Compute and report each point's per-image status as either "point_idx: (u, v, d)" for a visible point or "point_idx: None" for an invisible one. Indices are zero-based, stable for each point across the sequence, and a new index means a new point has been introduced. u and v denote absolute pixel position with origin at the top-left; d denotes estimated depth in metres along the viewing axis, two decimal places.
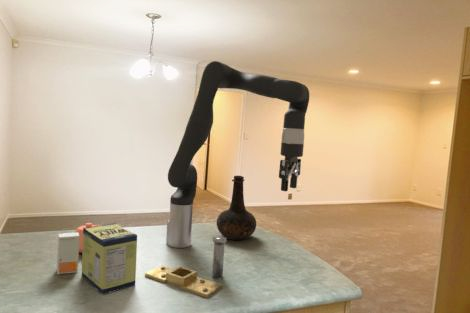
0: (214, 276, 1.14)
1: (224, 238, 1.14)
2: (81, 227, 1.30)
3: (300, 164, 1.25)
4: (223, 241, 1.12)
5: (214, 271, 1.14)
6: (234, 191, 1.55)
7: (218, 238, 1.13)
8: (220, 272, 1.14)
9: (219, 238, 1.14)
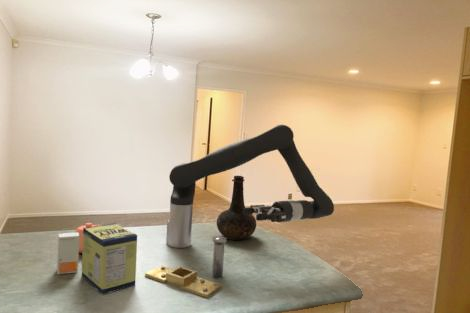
0: (214, 276, 1.14)
1: (224, 238, 1.14)
2: (81, 227, 1.30)
3: None
4: (223, 241, 1.12)
5: (214, 271, 1.14)
6: (234, 191, 1.55)
7: (218, 238, 1.13)
8: (220, 272, 1.14)
9: (219, 238, 1.14)
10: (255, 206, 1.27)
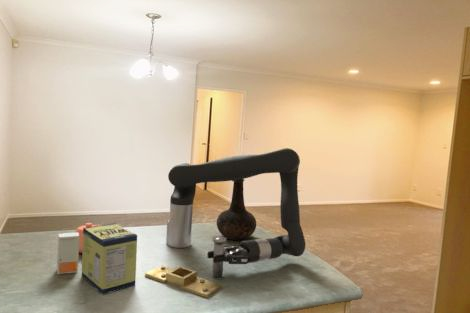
0: (214, 276, 1.14)
1: (224, 238, 1.14)
2: (81, 227, 1.30)
3: None
4: (223, 241, 1.12)
5: (214, 271, 1.14)
6: (234, 191, 1.55)
7: (218, 238, 1.13)
8: (220, 272, 1.14)
9: (219, 238, 1.14)
10: None
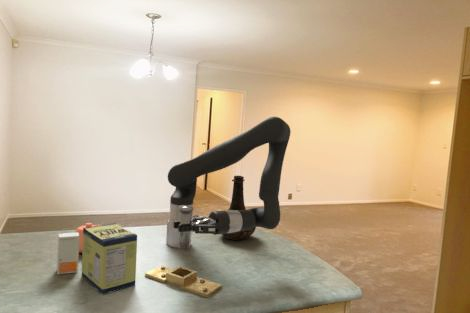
0: (180, 247, 1.07)
1: (191, 207, 1.08)
2: (81, 227, 1.30)
3: None
4: (189, 209, 1.06)
5: (180, 241, 1.07)
6: (234, 191, 1.55)
7: (184, 207, 1.07)
8: (186, 242, 1.07)
9: (185, 207, 1.08)
10: None
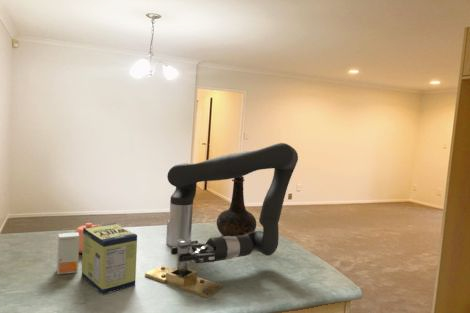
0: None
1: (188, 241, 1.09)
2: (81, 227, 1.30)
3: None
4: (187, 244, 1.07)
5: None
6: (234, 191, 1.55)
7: (181, 241, 1.08)
8: None
9: (183, 241, 1.08)
10: None
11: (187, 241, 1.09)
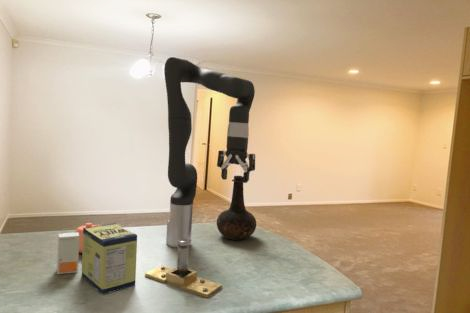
0: None
1: (188, 241, 1.09)
2: (81, 227, 1.30)
3: None
4: (187, 244, 1.07)
5: None
6: (234, 191, 1.55)
7: (181, 241, 1.08)
8: None
9: (183, 241, 1.08)
10: (220, 162, 1.27)
11: (187, 241, 1.09)
